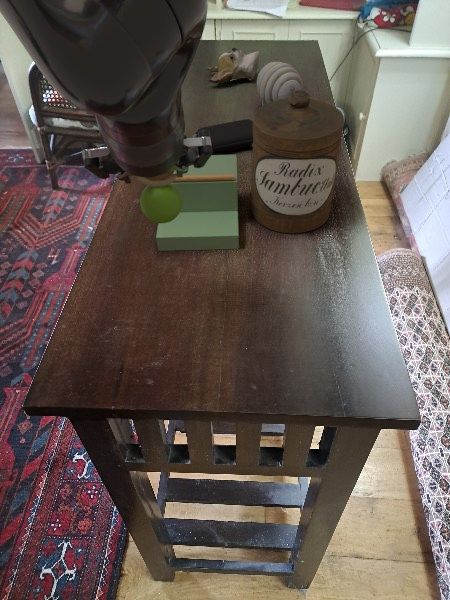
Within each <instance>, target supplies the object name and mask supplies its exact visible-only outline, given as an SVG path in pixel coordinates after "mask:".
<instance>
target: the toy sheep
mask: <svg viewBox="0 0 450 600" xmlns="http://www.w3.org/2000/svg"><path fill="white" fill-rule="evenodd" d="M303 87H304V85H303V79H302V78H301V76H300V73H299V72H298V71H297V70H296V69H295V67H293V65H291V64H290V63H285V62H283V61H271V62H268V63H267V64H265V65H264V66H262V68H261V69H260V71H259V72H258V73H257V77H256V88H257V94H258V96H259V98H260V100H261V107H262V106H263V105H265V104H267V103H269V102H272V101H276V100H280V99H286V98H289V96H290V95H291V94H292V93H294V92H295V91H297V90H301V91H303Z"/></svg>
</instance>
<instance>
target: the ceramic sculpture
mask: <svg viewBox="0 0 450 600" xmlns="http://www.w3.org/2000/svg"><path fill="white" fill-rule="evenodd" d="M260 52H261V51H260V50H257V51H253V52H250V53H247V54H245V53H244V52H243V51H242V50H241V49H239V48H238V47H237V48H236V47H232V48H231V51H228V52H224V53H222V54H221V55H220V56H219V57H218V59H217V63H216V64H217V65H214V66H212V67H209V66H207V67H205V70H207V71H208V70H209V72H210V71H211V72H210V73H212V72H218V73H217V74H215V73H214V75H213V76H212V77H211V78H208V79H207V82H209V83H212V84H216V83H224V82H226V83H232V82H233V81H230V80H232V79H239V78H243V79H247V78H249V79H253V80H254V78H255V76H256V73H257V71H258V69H259V64H260ZM239 80H240V79H239ZM227 81H228V82H227ZM249 81H250V82H251V81H252V80H249ZM224 84H225V83H224Z"/></svg>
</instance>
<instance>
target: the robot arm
mask: <svg viewBox="0 0 450 600" xmlns="http://www.w3.org/2000/svg"><path fill="white" fill-rule="evenodd" d="M208 7H209V0H0V14H1V16H2V17H3V19H4V20H5V21H6V23H7V24H8V25H9V27H10V29H11V30H12V31H13V33H14V35H15V36H16V37H17V39H18V41H19V42H20V43H21V45H22V46H23V48H24V49H25V51H26V52H27V54H28V55H29V57H30V58H31V59H32V61H33V63H34V64H35V65H36V67H37V68H38V70H39V71H40V73H41V74H42V75H43V77H44V78H45V79H46V80H47V81H48V84H50V86H51V87H52V88H53V89H54V90H55V91H56V92H57V94H59V96H60V97H62V98H63V99H64V100H65V101H66V102H67V103H69V104H70V105H72V106H73V107H75V108H77V109H78V110H80V111H82V112H84V113H87V114H90V115H94V116H95V121H96V125H97V128H98V134H99V136H100V138H101V140H102V142H103V143H104V144H105V146H101V145H100V144H95V143H93V142H92V141H84V142H81V143H80V146H81V153H82V160H83V166H84V169H86V170H87V171H89V172H91V173H92V174H93V175H95V177H98V178H99V179H102V180H106V179H109V178H111V175H114V176H115V178H116V179H118V181H122V182H123V181H124V183H125V184H126V185H128V184H132V177H134V176H133V175H135V176H138V177H144V178H149V177H156V176H159V175H162V174H164V173H166V172H167V171H176V173H177V178H181V177H183V174H185V173H187V172H188V170H189V166H191V165H194V168H201V167H204V165H205V164H206V162H207V161H208V159H209V158H210V157H211V155H214V154H213V151H212V144H211V137H210V130H208V129H203V130H200V131H199V132H198V134H197V135H196V133H194V134H193V135H192V137H188V136H187V135H186V134H185V131H186V121H185V111H184V106H183V102H182V86H183V84H184V82H185V80H186V77H187V75H188V73H189V71H190V69H191V66H192V63H193V60H194V59H195V55H196V53H197V51H198V48H199V46H200V42H201V40H202V37H203V33H204V30H205V27H206V23H207V18H208V17H207V16H208V11H209V10H208V9H209V8H208Z"/></svg>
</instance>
